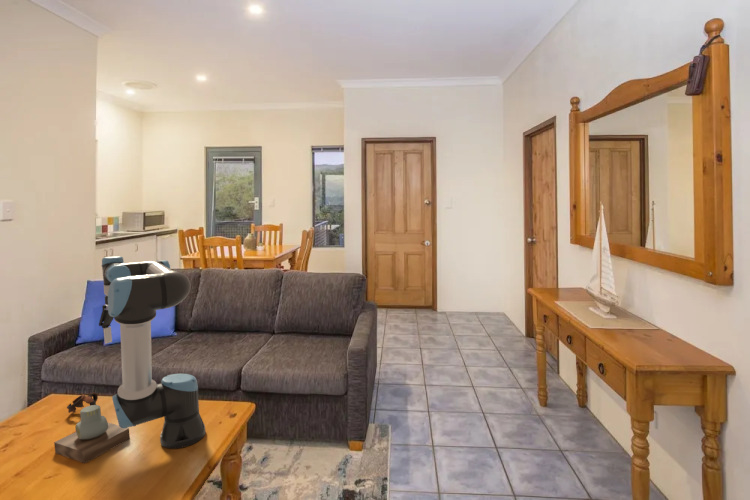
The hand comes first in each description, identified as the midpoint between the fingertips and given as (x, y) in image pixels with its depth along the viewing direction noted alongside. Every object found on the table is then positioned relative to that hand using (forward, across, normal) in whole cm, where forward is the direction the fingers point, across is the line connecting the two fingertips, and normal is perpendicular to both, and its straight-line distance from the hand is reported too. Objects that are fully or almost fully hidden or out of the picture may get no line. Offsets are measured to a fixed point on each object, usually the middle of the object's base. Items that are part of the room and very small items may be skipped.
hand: (119, 344), depth 170 cm
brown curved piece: (+29, +16, +6) cm, 33 cm away
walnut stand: (+29, -14, +22) cm, 39 cm away
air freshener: (+25, -14, +22) cm, 36 cm away
